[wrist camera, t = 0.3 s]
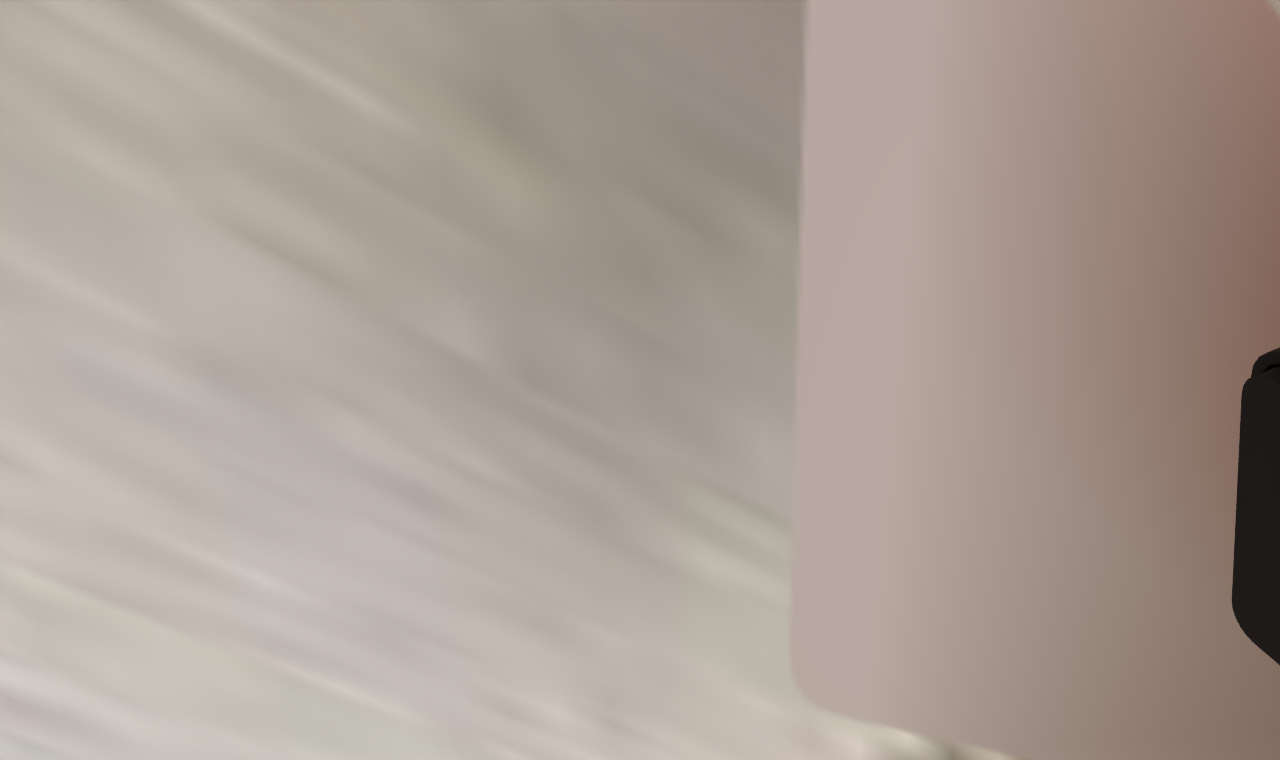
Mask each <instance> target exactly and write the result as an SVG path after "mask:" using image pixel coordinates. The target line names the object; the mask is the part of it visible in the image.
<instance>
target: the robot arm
mask: <svg viewBox="0 0 1280 760" xmlns="http://www.w3.org/2000/svg"><path fill="white" fill-rule="evenodd" d="M1232 607H1233V611H1234V614H1235V617H1236V619H1237V621H1238V623H1239V625H1240V627H1241V628H1242V630H1243V631H1244V633H1245V634H1246V635H1247V636H1248V637H1249V638H1250V639H1251V640H1252V642H1254V643H1255V644H1256V645H1257V646H1258V647H1259V648H1260V649H1262V650H1263V651H1264V652H1265V653H1266V654H1268V655H1269V656H1270V657H1271V658H1272V659H1273V660H1275V661H1276V662H1277V663H1278V664H1279V665H1280V348H1278V349H1275V350H1273V351H1271V352H1268V353H1266V354H1264V355H1262V356H1260V357H1259V358H1258V359H1257V361H1256V362H1255V364H1254V365H1253V370H1252V375H1251V378H1249V379H1248V380H1247V381H1246V383H1245V384H1244V386H1243V390H1242V400H1241V422H1240V442H1239V462H1238V483H1237V504H1236V525H1235V545H1234V568H1233V587H1232Z"/></svg>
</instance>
